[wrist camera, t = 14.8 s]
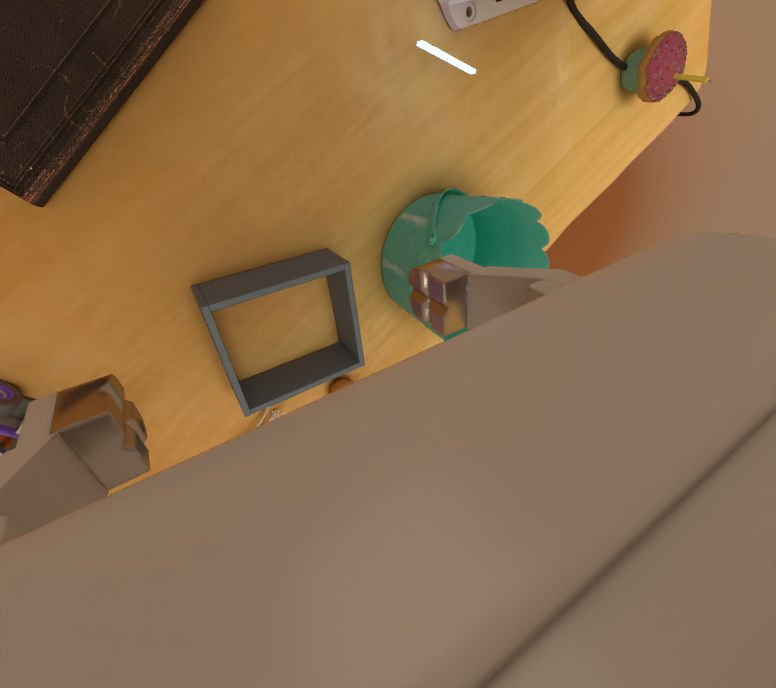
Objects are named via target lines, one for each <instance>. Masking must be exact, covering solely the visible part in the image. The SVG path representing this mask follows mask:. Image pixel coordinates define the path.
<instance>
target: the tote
mask: <svg viewBox="0 0 776 688" xmlns="http://www.w3.org/2000/svg"><path fill="white" fill-rule="evenodd" d="M324 276H327V280H328V285H329V290H330V296H331V301H332V306H333V312H334V317H335V322H336V327H337V333H338V338H339V342H338V343H336V344H333V345H331V346H328V347H326V348H323V349H321V350H318V351H316V352H313V353H311V354H308V355H306V356H303V357H300V358H298V359H295V360H293V361H290V362H288V363H285V364H283V365H280V366H278V367H275V368H273V369H270V370H268V371H265V372H263V373H260V374H258V375H255V376H252V377H250V378H247V379H245V380H242V381H240V382H238V379H237V377H236V374H235V372H234V369H233V367H232V364H231V362H230V359H229V356H228V354H227V351H226V349H225V346H224V344H223V341H222V339H221V336H220V334H219V331H218V329H217V326H216V324H215V321H214V318H213V316H212V313H211V312H212V311H216V310H219V309H222V308H225V307H228V306H231V305H235V304H238V303H241V302H244V301H247V300H251V299H254V298H257V297H260V296H263V295H267V294H270V293H273V292H276V291H279V290H282V289H286V288H289V287H292V286H295V285H298V284H302V283H305V282H308V281H311V280H314V279H318V278H321V277H324ZM191 289H192V291H193V293H194V296H195V298H196V301H197V303H198V306H199V308H200V310H201V313H202V315H203V318H204V320H205V323H206V325H207V328H208V330H209V332H210V335H211V337H212V340H213V342H214V345H215V347H216V349H217V352H218V354H219V357H220V359H221V362H222V364H223V366H224V369H225V371H226V374H227V376H228V379H229V381H230V383H231V386H232V388H233V391H234V393H235V395H236V397H237V400H238V402H239V404H240V406H241V409H242V411H243V413H244V415H245V417H246V416H249V415H251V414H253V413H256V412H258V411H260V410H263V409H265V408H267V407H270V406H272V405H274V404H276V403H279V402H281V401H283V400H286V399H288V398H290V397H293V396H295V395H297V394H299V393H302V392H304V391H306V390H309V389H311V388H313V387H315V386H318V385H320V384H322V383H325V382H327V381H329V380H332V379H334V378H336V377H338V376H341V375H343V374H345V373H348V372H350V371H352V370H355V369H357V368H359V367H361V366H364V365H365V362H364V355H363V349H362V342H361V335H360V329H359V322H358V315H357V308H356V302H355V295H354V288H353V282H352V275H351V268H350V263H349V262H348V261H346V260H345V259H343V258H342V257H340V256H338V255H337V254H335V253H334V252H332V251H330V250H329V249H327V248H326V249H322V250H319V251H315V252H312V253H308V254H305V255H301V256H298V257H294V258H291V259H287V260H283V261H280V262H276V263H273V264H269V265H266V266H262V267H259V268H255V269H252V270H248V271H244V272H241V273H237V274H234V275H230V276H227V277H223V278H220V279H216V280H213V281H209V282H206V283H202V284H199V285H195V286H191Z"/></svg>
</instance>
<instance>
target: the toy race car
mask: <svg viewBox="0 0 776 688" xmlns="http://www.w3.org/2000/svg"><path fill="white" fill-rule="evenodd" d="M31 401H33V400H30V399H27V398H24V397H23V394H22V393H21V391H20V390H19V389H17V388H16V387H14V386H13V385H11V384H9V383H7V382H4V381H1V380H0V457H1V456H2V455H3V454H4V453H5V452H7V451H9V450H12V449H14V448H15V447H16V444H17V440H18V437H19V434H20V430H21V427H22V424H23V420H24V417H25V414H26V410H27V407H28V404H29V402H31Z"/></svg>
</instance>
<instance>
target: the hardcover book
mask: <svg viewBox="0 0 776 688" xmlns="http://www.w3.org/2000/svg"><path fill="white" fill-rule="evenodd" d="M203 1H204V0H0V186H1V187H3V188H5V189H6V190H8V191H10V192H12V193H13V194H15V195H17V196H19V197H20V198H22V199H24V200H25V201H27V202H29V203H31V204H33V205H36V206H38V207H44V206H45V204H46V203H47V202H48V201H49V199H50V198H51V197H52V195H53V194H54V193H55V192H56V190H57V189H58V188H59V186H60V185H61V184H62V183H63V181H64V180H65V179H66V177H67V176H68V175H69V174H70V172H71V171H72V170H73V168H74V167H75V166H76V165H77V163H78V162H79V161H80V159H81V158H82V157H83V156H84V154H85V153H86V152H87V150H88V149H89V148H90V147H91V145H92V144H93V143H94V141H95V140H96V139H97V138H98V136H99V135H100V134H101V132H102V131H103V130H104V129H105V127H106V126H107V125H108V123H109V122H110V121H111V120H112V118H113V117H114V116H115V114H116V113H117V112H118V111H119V109H120V108H121V107H122V105H123V104H124V103H125V102H126V100H127V99H128V98H129V96H130V95H131V94H132V93H133V91H134V90H135V89H136V87H137V86H138V85H139V84H140V82H141V81H142V80H143V78H144V77H145V76H146V75H147V73H148V72H149V71H150V69H151V68H152V67H153V66H154V64H155V63H156V62H157V60H158V59H159V58H160V57H161V55H162V54H163V53H164V51H165V50H166V49H167V48H168V46H169V45H170V44H171V42H172V41H173V40H174V39H175V37H176V36H177V35H178V33H179V32H180V31H181V30H182V28H183V27H184V26H185V24H186V23H187V22H188V21H189V19H190V18H191V17H192V15H193V14H194V13H195V12H196V10H197V9H198V8H199V6H200V5H201V4H202V3H203Z"/></svg>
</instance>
